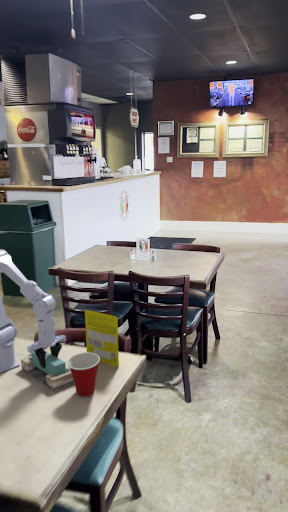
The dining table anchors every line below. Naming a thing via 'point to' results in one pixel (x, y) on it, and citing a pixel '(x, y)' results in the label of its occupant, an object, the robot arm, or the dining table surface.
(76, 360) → the plastic cup
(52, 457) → the dining table surface
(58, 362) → the slat
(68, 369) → the cradle
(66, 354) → the dining table surface
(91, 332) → the food package
